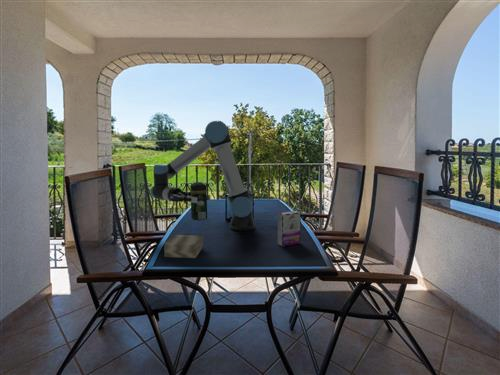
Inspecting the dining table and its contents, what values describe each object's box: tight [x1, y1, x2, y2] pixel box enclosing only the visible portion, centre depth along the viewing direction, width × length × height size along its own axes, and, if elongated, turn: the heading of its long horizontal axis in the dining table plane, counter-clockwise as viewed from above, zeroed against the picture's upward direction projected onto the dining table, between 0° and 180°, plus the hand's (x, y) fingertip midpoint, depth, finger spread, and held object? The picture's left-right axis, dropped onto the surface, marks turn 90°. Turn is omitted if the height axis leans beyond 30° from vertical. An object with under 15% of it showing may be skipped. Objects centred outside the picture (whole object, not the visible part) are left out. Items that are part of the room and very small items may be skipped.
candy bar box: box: [277, 210, 302, 248], centre depth 155 cm, size 11×5×16 cm, turn 117°
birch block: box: [163, 234, 204, 259], centre depth 143 cm, size 14×14×6 cm
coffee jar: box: [190, 181, 208, 222], centre depth 154 cm, size 10×8×19 cm
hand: (203, 198), depth 152 cm, fingers closed on coffee jar, 8 cm apart
